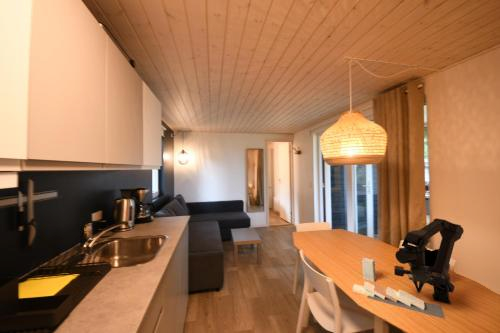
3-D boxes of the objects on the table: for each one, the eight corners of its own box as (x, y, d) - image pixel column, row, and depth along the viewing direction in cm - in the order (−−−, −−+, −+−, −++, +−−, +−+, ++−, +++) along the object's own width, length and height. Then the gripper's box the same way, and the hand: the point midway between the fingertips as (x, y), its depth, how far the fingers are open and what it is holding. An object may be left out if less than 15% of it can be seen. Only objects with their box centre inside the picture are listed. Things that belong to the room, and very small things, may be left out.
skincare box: (376, 279, 128) (375, 259, 128) (374, 283, 125) (373, 262, 125) (364, 276, 132) (363, 256, 132) (362, 279, 129) (361, 259, 129)
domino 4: (409, 300, 107) (386, 289, 112) (410, 298, 106) (387, 286, 112) (410, 306, 102) (386, 294, 108) (411, 303, 102) (387, 291, 108)
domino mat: (369, 289, 119) (369, 288, 119) (441, 307, 102) (441, 306, 102) (367, 298, 110) (367, 297, 110) (445, 319, 94) (445, 318, 94)
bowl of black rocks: (399, 273, 134) (398, 243, 134) (420, 266, 141) (419, 238, 142) (436, 289, 116) (435, 254, 116) (458, 281, 123) (457, 248, 123)
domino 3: (396, 297, 110) (374, 285, 115) (397, 294, 109) (375, 283, 115) (396, 302, 106) (373, 290, 111) (397, 299, 105) (374, 287, 111)
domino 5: (422, 304, 104) (398, 291, 109) (423, 301, 104) (399, 289, 109) (423, 309, 100) (398, 296, 105) (424, 307, 99) (399, 294, 105)
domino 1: (375, 292, 115) (354, 286, 121) (374, 289, 115) (354, 284, 121) (374, 296, 111) (352, 291, 117) (373, 293, 111) (352, 288, 117)
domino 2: (384, 294, 113) (364, 283, 118) (385, 291, 112) (365, 280, 118) (384, 299, 108) (362, 287, 114) (385, 296, 108) (363, 285, 114)
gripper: (393, 262, 101) (395, 295, 101) (446, 271, 91) (448, 308, 91) (393, 253, 110) (395, 284, 110) (442, 261, 100) (443, 294, 100)
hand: (418, 292), depth 102 cm, fingers closed
